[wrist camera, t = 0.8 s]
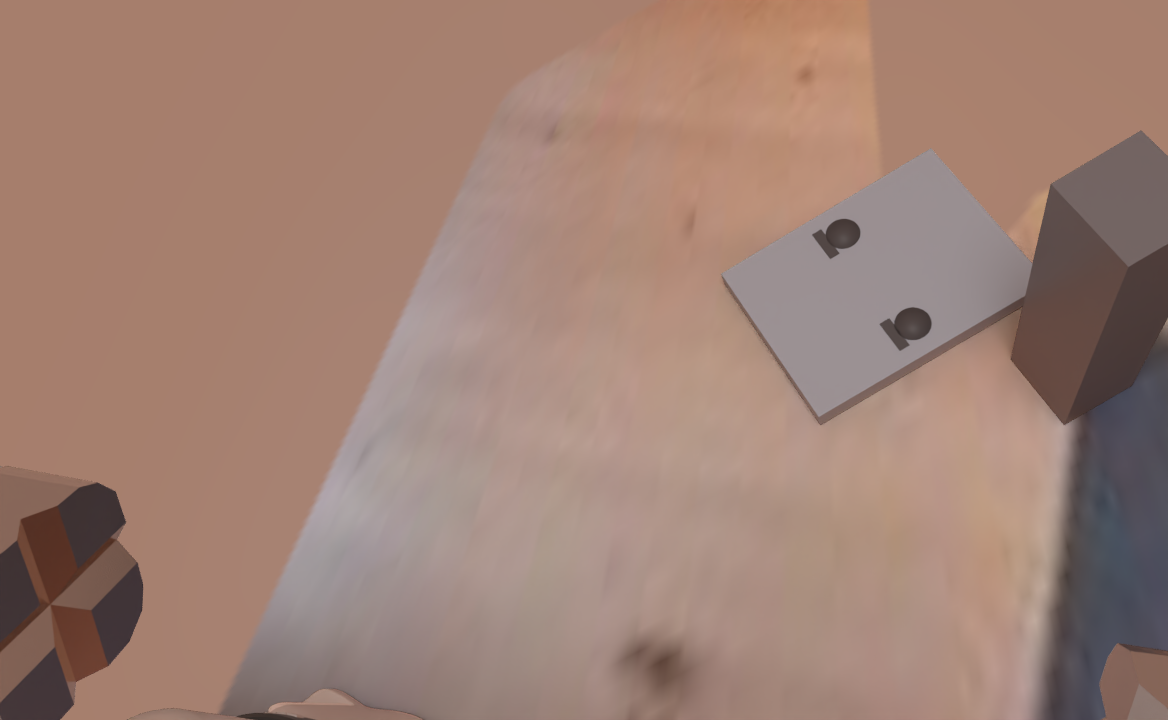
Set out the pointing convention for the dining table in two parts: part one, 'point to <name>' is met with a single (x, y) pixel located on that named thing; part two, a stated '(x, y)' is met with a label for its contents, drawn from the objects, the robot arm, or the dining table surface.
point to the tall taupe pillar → (1097, 279)
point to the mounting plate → (880, 285)
